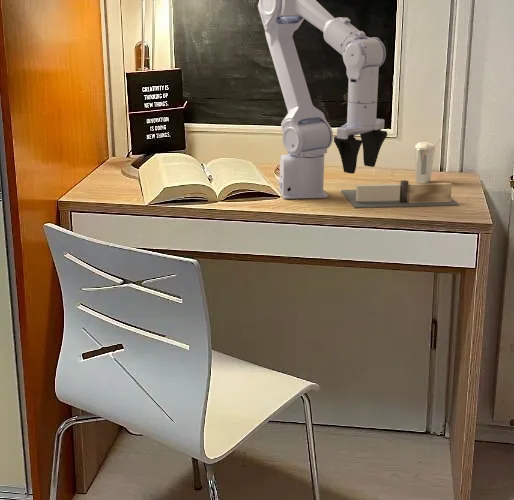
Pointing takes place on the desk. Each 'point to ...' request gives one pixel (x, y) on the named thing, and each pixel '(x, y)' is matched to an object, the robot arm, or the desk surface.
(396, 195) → the fence gate
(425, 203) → the card
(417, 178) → the milkshake
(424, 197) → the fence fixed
